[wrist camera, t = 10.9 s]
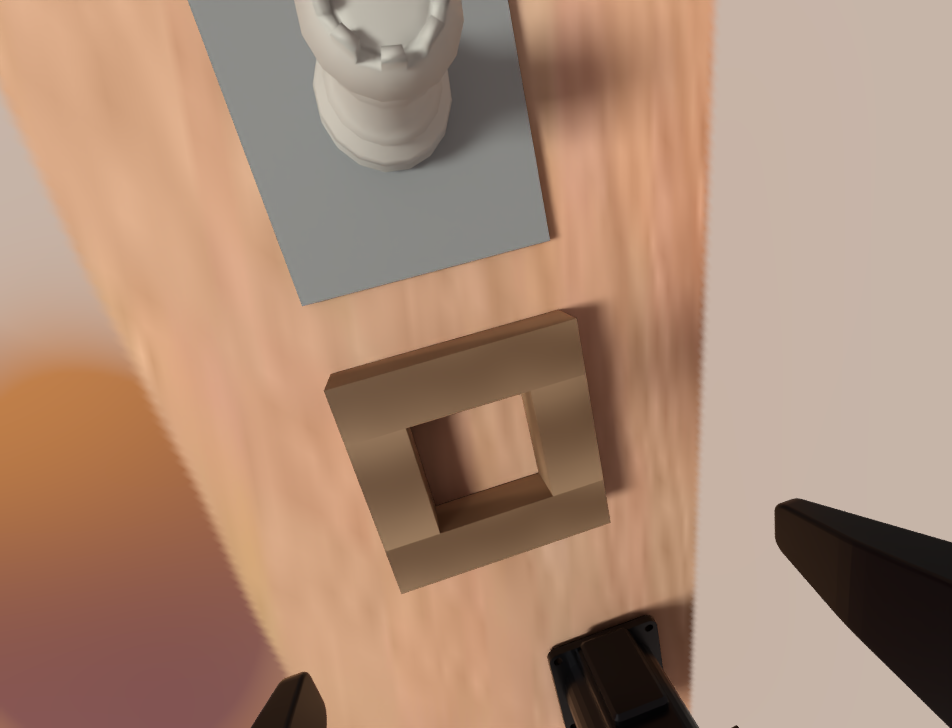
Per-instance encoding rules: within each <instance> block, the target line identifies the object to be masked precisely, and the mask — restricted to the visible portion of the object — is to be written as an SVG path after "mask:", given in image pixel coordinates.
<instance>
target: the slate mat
mask: <svg viewBox="0 0 952 728" xmlns="http://www.w3.org/2000/svg"><path fill="white" fill-rule="evenodd" d="M461 1H462V9H463V17H464V23H463V27H462V32H461V37H460V42H459V46H458V51H457V56H456V57H455V59H454V60H453V62H452V63H451V65H450V66H449V68H448V69H447V70H448V76H449V83H450V90H451V97H452V103H451V108H450V113H449V118H448V122H447V127H446V132H445V135H444V137H443V138H442V140H441V141H440V143H439V144H438V146H437V147H436V148H435V150H434V151H433V153H432V154H431V156H430V157H428V158H426V159H425V160H423V161H422V162H420V163H418V164H417V165H415V166H414V167H412V168H410V169H406V170H398V171H391V172H382V171H379V170H376V169H372V168H369V167H365V166H362V165H359V164H358V163H357V162H355V161H354V160H353V159H351V158H350V157H349V156H348V155H346V154H345V153H344V152H342V151H341V150H340V149H339V148H337V146H336V145H335V143H334V142H333V140H332V138H331V137H330V135H329V134H328V132H327V130H326V129H325V127H324V126H323V124H322V123H321V118H320V115H319V111H318V106H317V102H316V97H315V93H314V88H313V78H314V71H315V64H316V57H315V56H314V54H313V52H312V51H311V49H310V47H309V46H308V44H307V42H306V41H305V39H304V37H303V36H302V33H301V29H300V24H299V20H298V15H297V11H296V6H295V2H294V0H188V2H189V5H190V8H191V10H192V13H193V16H194V18H195V21H196V24H197V26H198V29H199V32H200V34H201V37H202V40H203V42H204V45H205V48H206V50H207V53H208V56H209V58H210V61H211V64H212V66H213V69H214V72H215V74H216V77H217V80H218V82H219V85H220V88H221V91H222V93H223V96H224V99H225V101H226V104H227V107H228V109H229V112H230V115H231V117H232V120H233V123H234V125H235V128H236V131H237V133H238V136H239V139H240V141H241V144H242V147H243V149H244V152H245V155H246V157H247V160H248V163H249V165H250V168H251V171H252V173H253V176H254V179H255V181H256V184H257V187H258V189H259V192H260V195H261V197H262V200H263V203H264V205H265V208H266V211H267V213H268V216H269V219H270V221H271V224H272V227H273V229H274V232H275V235H276V237H277V240H278V243H279V245H280V248H281V251H282V253H283V256H284V259H285V261H286V264H287V267H288V269H289V272H290V275H291V278H292V280H293V283H294V286H295V288H296V291H297V294H298V296H299V299H300V302H301V304H302V306H305V305H309V304H312V303H316V302H320V301H324V300H327V299H331V298H335V297H339V296H343V295H346V294H350V293H354V292H358V291H361V290H365V289H369V288H373V287H376V286H380V285H384V284H388V283H392V282H395V281H399V280H403V279H407V278H410V277H414V276H418V275H422V274H425V273H429V272H433V271H437V270H441V269H444V268H448V267H452V266H456V265H459V264H463V263H467V262H471V261H474V260H478V259H482V258H486V257H490V256H493V255H497V254H501V253H505V252H508V251H512V250H516V249H520V248H523V247H527V246H531V245H535V244H539V243H542V242H546V241H550V238H549V232H548V226H547V220H546V215H545V209H544V203H543V198H542V192H541V186H540V181H539V175H538V169H537V164H536V158H535V152H534V146H533V141H532V135H531V129H530V124H529V118H528V112H527V107H526V101H525V95H524V90H523V84H522V78H521V72H520V67H519V61H518V55H517V50H516V44H515V38H514V33H513V27H512V21H511V16H510V10H509V4H508V0H461Z"/></svg>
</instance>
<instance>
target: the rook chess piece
mask: <svg viewBox="0 0 952 728" xmlns="http://www.w3.org/2000/svg"><path fill="white" fill-rule="evenodd" d="M294 2H295V6H296V11H297V15H298V20H299V24H300V29H301V33H302V36H303V37H304V39H305V41H306V42H307V44H308V46H309V47H310V49H311V51H312V52H313V54H314V56H315V57H316V64H315V71H314V78H313V88H314V93H315V97H316V102H317V106H318V111H319V115H320V118H321V123H322V124H323V126H324V127H325V129H326V130H327V132H328V134H329V135H330V137H331V138H332V140H333V142H334V143H335V145H336V146H337V148H339V149H340V150H341V151H342V152H344V153H345V154H346V155H348V156H349V157H350V158H351V159H353V160H354V161H355V162H357V163H358V164H359V165H362V166H365V167H369V168H372V169H376V170H379V171H382V172H391V171H398V170H406V169H410V168H412V167H414V166H415V165H417V164H418V163H420V162H422V161H423V160H425V159H426V158H428V157H430V156H431V154H432V153H433V151H434V150H435V148H436V147H437V146H438V144H439V143H440V141H441V140H442V138H443V137H444V135H445V132H446V127H447V122H448V118H449V113H450V108H451V103H452V97H451V90H450V83H449V76H448V70H447V69H448V68H449V66H450V65H451V63H452V62H453V60H454V59H455V57H456V56H457V51H458V46H459V42H460V37H461V32H462V27H463V23H464V17H463V9H462V1H461V0H294Z"/></svg>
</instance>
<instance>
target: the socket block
mask: <svg viewBox="0 0 952 728" xmlns="http://www.w3.org/2000/svg"><path fill="white" fill-rule="evenodd" d="M324 392H325V395H326V398H327V400H328V403H329V405H330V408H331V411H332V413H333V416H334V418H335V421H336V424H337V426H338V429H339V432H340V434H341V437H342V439H343V442H344V445H345V447H346V450H347V452H348V455H349V458H350V460H351V463H352V466H353V468H354V471H355V473H356V476H357V479H358V481H359V484H360V486H361V489H362V492H363V494H364V497H365V500H366V502H367V505H368V507H369V510H370V513H371V515H372V518H373V520H374V523H375V526H376V528H377V531H378V534H379V536H380V539H381V541H382V544H383V547H384V549H385V552H386V554H387V557H388V560H389V562H390V565H391V568H392V570H393V573H394V575H395V578H396V581H397V583H398V586H399V588H400V591H401V594H403V593H406V592H409V591H412V590H415V589H418V588H421V587H424V586H427V585H430V584H433V583H436V582H438V581H441V580H444V579H447V578H450V577H453V576H456V575H459V574H462V573H465V572H468V571H471V570H474V569H476V568H479V567H482V566H485V565H488V564H491V563H494V562H497V561H500V560H503V559H506V558H509V557H512V556H514V555H517V554H520V553H523V552H526V551H529V550H532V549H535V548H538V547H541V546H544V545H547V544H550V543H553V542H555V541H558V540H561V539H564V538H567V537H570V536H573V535H576V534H579V533H582V532H585V531H588V530H591V529H593V528H596V527H599V526H602V525H605V524H608V523H611V522H610V516H609V510H608V504H607V498H606V492H605V486H604V480H603V474H602V468H601V462H600V456H599V450H598V444H597V438H596V432H595V426H594V420H593V414H592V408H591V402H590V396H589V390H588V383H587V377H586V371H585V365H584V359H583V353H582V347H581V341H580V335H579V329H578V323H577V318H575V317H573V316H570V315H568V314H566V313H564V312H562V311H560V310H556V311H552V312H549V313H545V314H542V315H538V316H535V317H531V318H528V319H524V320H520V321H517V322H513V323H510V324H506V325H503V326H499V327H496V328H492V329H489V330H485V331H482V332H478V333H475V334H471V335H468V336H464V337H460V338H457V339H453V340H450V341H446V342H443V343H439V344H436V345H432V346H429V347H425V348H422V349H418V350H415V351H411V352H408V353H404V354H400V355H397V356H393V357H390V358H386V359H383V360H379V361H376V362H372V363H369V364H365V365H362V366H358V367H355V368H351V369H348V370H344V371H340V372H337V373H333V374H331V375H330V377H329V380H328V382H327V385H326V387H325V390H324ZM518 394H521V395H522V399H523V404H524V408H525V413H526V417H527V422H528V426H529V431H530V435H531V440H532V444H533V449H534V454H535V458H536V463H537V467H538V472H539V473H537V474H534V475H531V476H528V477H525V478H522V479H518V480H515V481H512V482H509V483H506V484H503V485H500V486H497V487H494V488H491V489H487V490H484V491H481V492H478V493H475V494H472V495H469V496H466V497H463V498H460V499H457V500H453V501H450V502H447V503H444V504H441V505H438V506H435V504H434V501H433V497H432V494H431V491H430V488H429V485H428V482H427V479H426V476H425V473H424V469H423V466H422V463H421V460H420V457H419V454H418V451H417V448H416V445H415V441H414V438H413V435H412V432H411V429H410V427H412V426H416V425H419V424H422V423H426V422H429V421H432V420H436V419H439V418H442V417H446V416H449V415H452V414H455V413H459V412H462V411H465V410H469V409H472V408H475V407H479V406H482V405H485V404H489V403H492V402H495V401H499V400H502V399H505V398H508V397H512V396H515V395H518Z"/></svg>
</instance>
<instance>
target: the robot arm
mask: <svg viewBox="0 0 952 728" xmlns="http://www.w3.org/2000/svg"><path fill="white" fill-rule="evenodd" d="M775 539H776V542H777V545H778V547H779V548H780V550H781V551H782V553H783V554H784V555H785V556H786V557H787V558H788V560H789V561H790V562H791V563H792V564H793V565H794V566H795V568H796V569H797V570H798V571H799V572H800V573H801V575H802V576H803V577H804V578H805V579H806V580H807V581H808V583H809V584H810V585H811V586H812V587H813V588H814V589H815V590H816V592H817V593H818V594H819V595H820V596H821V598H822V599H823V600H824V601H825V602H826V603H827V604H828V606H829V607H830V608H831V609H832V610H833V611H834V612H835V614H836V615H837V616H838V617H839V618H840V619H841V620H842V621H843V622H844V623H845V625H846V626H847V627H848V628H849V629H850V630H851V631H852V632H853V633H854V634H855V635H856V636H857V637H858V638H859V639H860V640H861V641H862V642H863V643H864V644H865V645H866V646H867V647H868V648H869V649H870V650H871V651H872V652H874V654H875V655H876V656H877V657H878V658H879V659H880V660H881V661H882V662H883V663H885V664H886V666H888V667H889V668H890V669H891V670H892V671H893V672H894V673H895V674H896V675H897V676H898V677H899V678H900V679H901V680H902V681H903V682H904V683H905V684H906V685H907V686H908V687H909V688H910V689H911V690H912V691H913V692H914V693H915V694H916V695H917V696H918V697H919V698H920V699H921V700H922V701H923V702H924V703H925V704H926V705H927V706H928V707H929V708H930V709H931V710H932V711H933V712H934V713H935V714H936V715H937V716H938V717H939V718H940V719H942V720H943V721H944V722H945V723H946V724H947V725H948V726H949V727H950V728H952V542H948V541H945V540H941V539H938V538H935V537H931V536H928V535H924V534H921V533H917V532H914V531H911V530H907V529H903V528H900V527H897V526H893V525H890V524H886V523H883V522H879V521H875V520H872V519H869V518H865V517H862V516H859V515H855V514H852V513H848V512H845V511H841V510H838V509H834V508H831V507H827V506H824V505H820V504H817V503H813V502H810V501H807V500H803V499H798V498H796V499H791V500H788V501H785V502H783V503H780V504H778V505H777V506H776V507H775ZM547 659H548V663H549V666H550V670H551V674H552V678H553V682H554V686H555V690H556V694H557V698H558V702H559V706H560V710H561V713H562V717H563V721H564V724H565V727H566V728H699V727H698V725H697V724H696V722H695V720H694V719H693V717H692V715H691V714H690V712H689V711H688V709H687V707H686V706H685V704H684V703H683V701H682V699H681V698H680V696H679V695H678V693H677V691H676V690H675V688H674V687H673V685H672V683H671V682H670V680H669V679H668V677H667V675H666V674H665V672H664V671H663V666H662V658H661V651H660V643H659V636H658V629H657V624H656V622H655V621H654V619H653V618H652V617H651V616H650V615H646V616H642V617H640V618H637V619H634V620H631V621H629V622H626V623H623V624H621V625H618V626H615V627H612V628H610V629H607V630H604V631H602V632H599V633H596V634H593V635H591V636H588V637H585V638H583V639H580V640H577V641H575V642H572V643H569V644H566V645H564V646H561V647H558V648H556V649H553V650H551V651H550V652H549V654H548V656H547ZM251 728H327V715H326V708H325V704H324V701H323V699H322V697H321V695H320V693H319V691H318V689H317V687H316V685H315V684H314V682H313V680H312V678H311V676H310V675H309V673H307V672H301V673H298V674H295V675H292V676H290V677H287V678H285V679H283V680H282V681H281V682H280V683H279V684H278V686H277V688H276V689H275V691H274V692H273V694H272V695H271V697H270V698H269V700H268V702H267V703H266V705H265V706H264V708H263V709H262V711H261V712H260V714H259V716H258V717H257V719H256V720H255V722H254V724H253V725H252V727H251ZM732 728H739V727H738V726H737V725H736V726H734V727H732Z"/></svg>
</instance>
